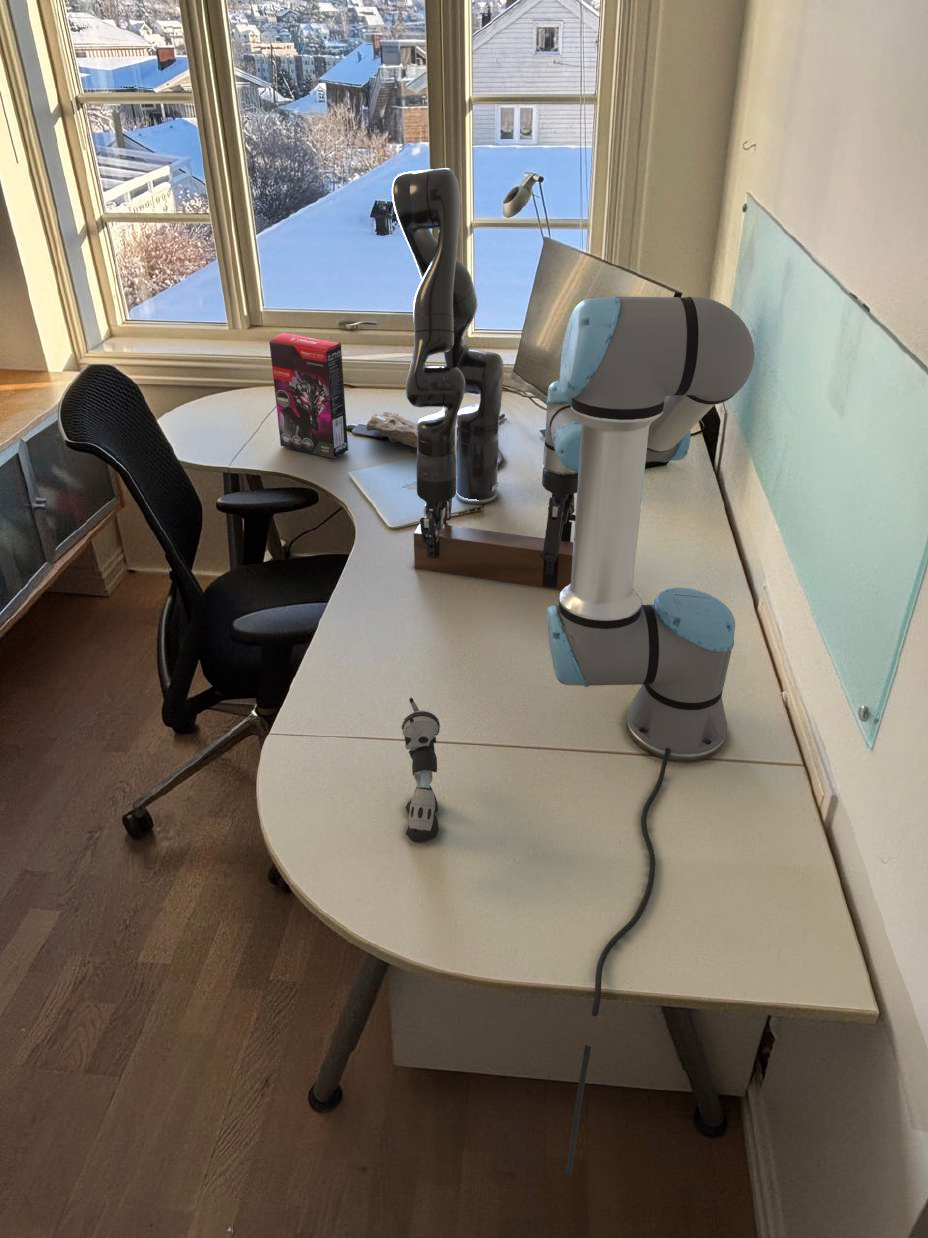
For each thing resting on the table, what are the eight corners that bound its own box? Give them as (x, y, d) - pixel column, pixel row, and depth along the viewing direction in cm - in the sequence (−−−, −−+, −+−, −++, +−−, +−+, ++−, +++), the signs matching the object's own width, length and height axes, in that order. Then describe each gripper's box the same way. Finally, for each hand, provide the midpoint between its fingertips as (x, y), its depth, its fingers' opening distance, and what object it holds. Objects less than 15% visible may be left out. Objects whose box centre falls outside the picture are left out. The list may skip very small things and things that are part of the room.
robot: (442, 875, 119) (441, 760, 108) (404, 877, 119) (400, 761, 107) (438, 770, 135) (437, 660, 124) (405, 771, 135) (401, 661, 124)
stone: (350, 435, 230) (355, 412, 228) (372, 427, 244) (376, 405, 241) (428, 460, 227) (434, 436, 224) (446, 450, 240) (451, 427, 238)
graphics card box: (278, 447, 232) (266, 338, 217) (294, 437, 237) (284, 331, 222) (334, 460, 225) (326, 350, 210) (350, 450, 230) (343, 341, 215)
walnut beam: (573, 592, 177) (576, 555, 172) (414, 568, 183) (413, 532, 179) (577, 579, 181) (581, 543, 176) (421, 556, 187) (421, 521, 183)
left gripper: (444, 490, 167) (445, 571, 176) (465, 458, 178) (464, 536, 188) (405, 485, 168) (407, 565, 178) (428, 454, 180) (429, 531, 189)
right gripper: (572, 500, 155) (564, 605, 167) (595, 442, 175) (585, 539, 187) (529, 494, 157) (523, 598, 169) (556, 437, 177) (549, 534, 189)
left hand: (437, 550), depth 183 cm, fingers closed on walnut beam, 5 cm apart
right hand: (556, 568), depth 178 cm, fingers open, 13 cm apart
